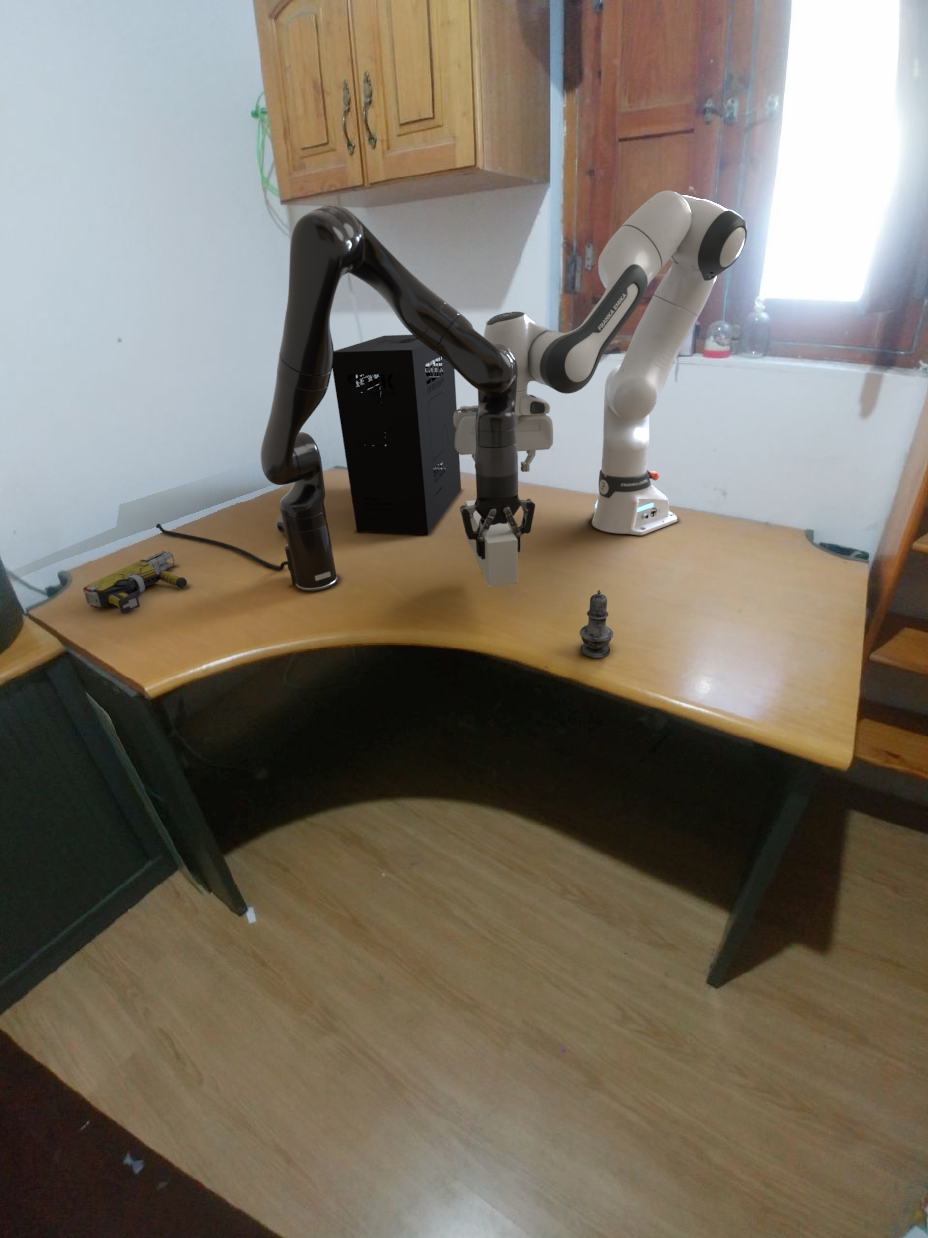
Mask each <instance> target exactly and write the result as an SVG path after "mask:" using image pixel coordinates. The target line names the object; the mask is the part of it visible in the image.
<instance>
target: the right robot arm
mask: <svg viewBox="0 0 928 1238" xmlns="http://www.w3.org/2000/svg"><path fill="white" fill-rule="evenodd" d="M747 236H748V228H747V221H746V220H745V218H743V216H741V214H738V213H737V212H736V211H734V210H732V209H727V208H725V207H723V206H721V205H720V204H717V203H715V202H713V201H710V200H707V199H705V198H703V199H701V198H697V197H694V196H689V195H684V194H683V195H682V193H680V192H676V191H674V190H662V191H659V192H657V193H656V194H654V195H652V196H651V197H650V198H649V199H648V200H647V201H645V202H644V203H643V204H642V205H640V207H638V208H637V209H636V210H635V211H634V212H633V213H632V214H631V215H630V216H629V217H628V218H627V219H626V220H625V221H624V223H622V224H621V226H620V227H619V228H618V229H617V231H616V232H615V233H613V235H612V236H611V237H610V239H609V240H608V241H607V242H606V244H605V246H604V248H603V249H602V251H601V252H600V255H599V257H598V262H597V270H598V271H597V272H598V277H599V279H600V281H601V284H602V285H603V287H604V288H605V290H604V293H603V295H602V296H601V298H600V299H599V301H598V302H597V303H596V304H595V306H594V307H593V308H592V310H591V311H590V312H589V314H588V315H587V317H586V318H585V319H584V320H583V322H582V323H581V324H580V325H579V326H578V327H577V328H575V329H573V330H571V331H567V332H560V331H557V330H556V331H555V330H551V329H549V328H547V327H544V326H542V325H540V324H539V323H536V322H535V321H533V320H532V319H531V318H529V317H528V315H527V314H526V312H522V311H511V312H510V311H509V312H503V313H498V314H496V315H494V316H492V317H491V318H489V320H487V322H486V323H485V324H486V325H485V328H484V332H483V337H484V338H485V339H487V340H488V341H489V342H490V343H492V344H501V345H504V346H506V347H508V348H509V349H510V350H511V351H512V352H513V353H514V355H515V357H516V360H517V369H518V374H517V393H516V405H515V414H516V444H517V452H526V454H527V456H526V458H525V459H524V461H520V471H521V473H527V472H528V473H529V472H530V467H531V466H530V465H531V463H533V460H534V459H535V457H536V453H537V452H536V451H545V450H550V449H551V447H552V446H553V445H554V424H553V420H552V417H551V416H550V414H549V413H550V411H551V404H550V403H549V402H548V401H547V400H545V399H544V398H541V397H539V396H535V395H533V394H528V385H529V383H531V382H536V383H538V384H541V385H544V386H546V387H549V388H551V389H553V390H555V391H556V392H558V393H561V394H565V395H566V394H567V395H568V394H574V393H576V392H578V391H581V390H582V389H583V388H584V387H586V386H587V385H588V384H589V383H590V381H591V380H592V379H593V376H594V375H595V372H596V370H597V368H598V366H599V363H600V362H601V358H602V357H603V355H604V353H605V352H606V350H607V349H608V347H609V346H610V344H611V343H612V342H613V341H614V340H615V338H616V337H617V335H618V334H619V333H620V331H621V330H622V328H623V327H624V326H625V324H626V323H627V321H628V320H629V319H630V318H631V316H632V315H633V313H634V312H635V311H636V309H637V308H638V306H639V305H640V303H641V302H642V300H643V298H644V297H645V295H646V292H647V289H648V287H649V285H650V284H651V282H652V281H653V280H654V278H655V277H656V276H657V275H658V274H659V273H660V271H661V270H662V269H663V268H664V267H665V266H666V265H667V263H668V262H669V261H672V264H671V266H669V269H668V270H667V271H666V272H665V274H664V276H663V277H662V279H661V281H660V282H659V284H658V286H657V288H656V289H655V292H654V294H653V295H652V297H651V299H650V301H649V302H648V305H647V306H646V308H645V310H644V313H643V315H642V316H641V318H640V320H639V322H638V324H637V326H636V328H635V330H634V332H633V335H632V338H631V341H630V343H629V345H628V348H627V350H626V352H625V355H624V357H623V359H622V361H621V363H620V364H618V365H617V366H615V367H614V368H613V369H611V371H610V372H609V374H608V376H606V379H605V383H604V397H603V427H602V429H603V431H602V432H603V435H602V436H603V437H602V453H601V468H600V470H599V474H598V492H599V493H598V498H597V500H596V503H595V505H594V509H595V511H594V514H593V517H592V520H591V525H592V526H593V527H594V528H595V529H597V530H599V531H601V532H605V533H611V534H623V535H625V534H626V535H632V536H633V535H634V536H645V535H646V534H650V533H652V532H654V531H657V530H660V529H662V528H665V527H668V526H670V525H672V524H675V523H677V522H678V516H677V515H676V514H675V513H674V512H672V511H670V503H669V502H670V501H669V498H668V497H667V496H666V495H665V494H664V493H663V492H661V491H660V490H659V489H658V488H656V487H655V486H654V485H652V483H651V480H653V481H658V479H659V478H660V473H659V472H657V471H654V470H651V471H649V470H648V469H647V466H648V458H649V457H648V455H649V446H650V414H651V413H652V411H654V409H655V407H656V404H657V401H658V399H659V397H660V395H661V393H662V392H663V389H664V387H665V385H666V383H667V381H668V378H669V376H670V374H671V371H672V369H673V367H674V364H675V361H676V359H677V357H678V356H679V354H680V351H681V349H682V347H683V346H684V344H685V342H686V340H687V338H688V336H689V335H690V333H691V331H692V329H693V327H694V326H695V325H696V322H697V321H698V319H699V317H700V315H701V314H702V311H703V309H704V308H705V306H706V304H707V301H708V300H709V297H710V294H711V293H712V291H713V288H714V285H715V282H716V280H717V277H718V276H719V275H721V274H723V273H724V272H726V271H727V270H728V269H729V268H730V267H732V266H733V265H734V263H735V262H737V260H738V259H739V258H740V255H741V253H742V252H743V249H744V247H745V245H746V241H747ZM477 410H478V404H477V405H469V406H468V405H462V406H460V408H457V410H456V411H455V413H454V415H453V424H454V427H455V428H456V431H455V449H456V451H457V452H458V453H459V456H465V455H466V456H467V455H471V458H472V460H473V462H475V453H476V428H475V422H476V414H477Z"/></svg>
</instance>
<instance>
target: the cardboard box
mask: <svg viewBox="0 0 928 1238" xmlns="http://www.w3.org/2000/svg"><path fill="white" fill-rule="evenodd" d="M433 361H434V363H433ZM332 375H333V381H334V382H333V383H334V388H335V396H336V401H337V408H338V415H339V422H340V426H341V427H340V429H341V436H342V441H343V449H344V456H345V461H346V468H347V475H348V481H349V482H348V483H349V488H350V495H351V496H350V497H351V501H352V508H353V515H354V522H355V528H356V532H358V533H379V534H402V535H406V534H407V535H425V536H426V535H427V536H428V535H430V534H431V532H432V530H433V529H434V527H435V526H436V525H437V523H438V522H439V521H440V519H441V518H442V516H443V515H444V514H445V513H446V511H447V509H448V508H449V507H450V506H451V504H452V503H453V501H454V500H455V499H456V498H457V496H458V495H459V493H460V492H461V491H462V481H461V461H460V454H459V453H458V452H457V451H456V449H455V431H456V428H455V427H454V424H453V415H454V413H455V411H456V410H458V408H457V391H456V390H457V389H456V388H457V387H456V370H455V369H454V368H453V366H452V365H451V364H450V363H449V362H448V361H447V360H446V359H444V358H443V357H441V356H440V355H438V354H437V353H436V352H434V351H433V350H432V349H430V348H429V347H428V346H426V345H425V344H424V343H423V342H421V341H420V340H419V339H417V338H416V337H415V336H414V335H413V334H391V335H388V334H387V335H382V336H381V335H380V336H378V337H375V338H372V339H368V340H365V341H361V342H359V343H356V344H353V345H349V346H345V347H343V348H342V347H341V348H339V349H336V350H334V361H333V367H332Z"/></svg>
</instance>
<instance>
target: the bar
mask: <svg viewBox="0 0 928 1238" xmlns="http://www.w3.org/2000/svg"><path fill="white" fill-rule="evenodd" d="M475 502H476V499H475V500H474V499H473V500H465V501H464V506H466V507H468V506H471V505H474V504H475ZM480 518H481V516H480V515H479V513H478V512H477V511H475V512H474V514H473V518H471V519H470V520H471V524H472V528H473V531H477V528H478V525H479V521H480ZM466 540H467V542H468V545H469V547H470V549H471V551H472V553H473V555H474V558H475V560H476V562H477V564H478V567H479V568H480V570H481V573H482V575H483V577H484V579H485V581H486V584H487V586H488V587H497V586H505V585H506V586H507V585H513V584H518V583H519V572H518V571H519V569H518V568H519V567H518V565H519V562H518V560H519V559H518V558H519V555H518V554H519V552H518V540H517V538H516V537H515V535H514V534H513V532H512V530H511V528H510V526H509V524H508V523H507V524H501V523H499V524H496V525H491V526H490V528H489V530H488V532H487V533H486V535H485V538H484V541H485V559H481V557H479V556H478V554H477V552H476V540H474V539H472V540H470V539H468V537H467V536H466Z"/></svg>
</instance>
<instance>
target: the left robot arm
mask: <svg viewBox="0 0 928 1238" xmlns="http://www.w3.org/2000/svg"><path fill="white" fill-rule="evenodd" d="M346 274H350V275H352V276H354V277H355V278H357V279H359V280H360V281H362V282H364V283H365V284H367V285H368V286H369V287H371V288H372V289H373V290H375V291H376V293H378V295H379V296H380V297H381V298H382V299H383V300H384V301H385V302H386V303H387V305H388V306H389V307H390V308H391V309H390V310H392V311H393V313H394V315H395V316H396V317H397V319H398V320H399V321H400V322H401V324H402V325H403V327H404V328H406V329H407V331H409V332H410V334H411V335H414V336H415V337H416V338H417V339H419V340H420V341H421V342H423V343H424V344H425V345H426V346H428V347H429V348H430V349H432V350H433V351H434V352H436V353H437V354H438V355H440V356H441V358H442V357H443V358H444V359H446V360H447V361H448V362H449V363H450V364H451V365H452V366H453V368H454V369H455V372H457V373H458V374H459V375H460V376H461V377H462V378H463V379H464V380H465V381H466V382H468V383H469V384H470V385H471V386H472V387H474V389H476V390H477V405H478V410H477V414H476V422H475V428H476V453H475V461H474V468H475V485H476V487H475V489H476V498H475V500H476V502H475V504H474V505H471V506H468V507H466V506H465V504H464V505H463V504H462V505H461V506H460V507H459V511H460V515H461V517H462V518H461V519H462V523H463V528H464V531H465V532H464V533H465V534H466V538H467V537H468V539H470V540H472V539H474V540H476V552H477V554H478V556H479V557H481V559H485V541H484V538H485V535H486V533H487V532H488V530H489V528H490V526H491V525H496V524H499V523H501V524H507V525H508V526H509V528H510V529H511V531H512V532H513V534H514V535H515V537H516V538H517V540H518V553H520V552H521V538H522V536H523V535H525V534H527V535H528V534H530V533H531V531H532V526H533V520H534V514H535V509H536V503H535V502H534V501H533V499H531V498H527V499H520V497H519V453H518V452H519V451H517V444H516V414H515V405H516V393H517V374H518V369H517V360H516V357H515V355H514V353H513V352H512V351H511V350H510V349H509V348H508V347H506V346H504V345H501V344H492V343H490V342H489V341H488V340H487V339H485V338H484V335H482V334H481V333H479V332H478V330H477V331H476V329H475V328H474V326H473V324H472V323H471V321H470V320H468V319H467V318H466V317H465V315H463V314H462V313H460V312H459V311H458V310H457V309H456V308H454V307H453V306H452V305H451V304H449V303H448V302H447V301H445V300H444V299H443V298H441V297H440V296H439V295H438V294H437V293H436V292H434V291H433V290H431V289H430V288H429V287H427V286H426V285H425V284H424V283H423V282H422V281H421V280H419V279H418V278H417V277H416V276H415V275H414V274H413V273H412V272H411V271H410V270H409V269H407V267H406V266H404V264H403V263H401V262H400V261H399V259H397V258H396V257H395V255H394V254H392V253H391V251H389V250H388V248H387V247H386V246H385V245H384V244H383V243H382V242H381V241H380V240H379V238H377V237H376V236H375V235H374V234H373V232H371V230H370V229H369V228H368V227H367V226H366V225H365V224H364V222H362V220H360V218H358V217H357V216H356V215H355V214H354V212H352V211H351V210H350V209H348V208H346V207H344V206H343V205H339V204H326V205H323V206H321V207H318V208H315V209H313V210H311V211H309V212H307V213H304V215H303V214H302V216H301V217H299V219H298V220H297V221H296V222H295V224H294V226H293V229H292V232H291V236H290V245H289V265H288V293H287V303H286V310H285V315H284V321H283V329H282V336H281V341H280V347H279V352H278V359H277V365H276V366H277V367H276V377H275V383H274V384H275V386H274V392H273V397H272V402H271V408H270V414H269V417H268V421H267V424H266V427H265V431H264V434H263V438H262V442H261V445H260V446H261V447H260V464H261V465H260V466H261V469H262V472H263V475H264V476H265V478H266V479H267V481H269V482H270V483H271V484H274V485H277V486H286V485H289V484H293V485H292V486H291V488H290V489H289V491H288V492H287V493H286V494H285V495H284V496H283V497H281V499H280V501H279V511H280V514H281V515H282V520H283V525H284V529H285V534H284V535H285V539H286V543H287V545H285V547H284V552H285V556H286V560H285V561H282V562H281V563H280V565H275V564H273V563H270V562H268V561H266V560H263V559H262V558H259V557H257V556H256V555H254V554H252V553H251V552H249V551H246V550H243V549H241V548H239V547H238V546H237V547H236V546H235V545H231V544H229V543H226V542H222V541H218V540H214V539H211V538H210V539H209V538H205V537H201V536H195V535H190V534H187V533H180V532H175V531H170V530H167V529H164V527H162V524H160V523H157V524H156V528H155V529H159V531H161V532H162V533H164V534H167V535H171V536H176V537H180V538H186V539H191V540H196V541H200V542H203V543H204V542H205V543H209V544H213V545H217V546H222V547H225V548H227V549H230V550H233V551H236V552H238V553H240V554H243V555H245V556H247V557H249V558H251V559H252V560H254V561H256V562H258V563H260V564H262V565H264V566H266V567H268V568H270V569H273V570H278V571H282V570H283V569H284V568H285V566H287V569H288V571H289V574H290V578H291V583H292V586H294V587H296V589H298V590H300V591H303V592H311V593H312V592H319V591H323V590H324V591H325V590H327V589H330V588H332V587H334V585H336V584H337V583H338V581H339V580H338V575H337V569H336V564H335V558H334V553H333V547H332V541H331V535H330V530H329V524H328V519H327V513H326V512H327V511H326V507H325V499H326V489H325V487H326V486H325V479H324V471H323V464H322V463H323V461H322V458H321V453H320V450H319V447H318V445H317V443H316V441H315V439H314V438H313V437H312V435H310V434H309V433H307V432H305V431H301V430H302V428H303V427H304V425H305V424H306V423H307V421H308V420H309V419H310V417H311V416H312V415H313V413H314V412H315V411H316V410H317V408H318V407H319V405H320V404H321V402H322V401H323V399H324V398H325V396H326V393H327V391H328V388H329V384H330V380H331V376H332V373H333V369H332V367H333V361H334V351H335V350H334V342H333V337H332V333H331V323H330V322H331V312H332V307H333V305H334V304H333V303H334V299H335V295H336V292H337V289H338V286H339V283H340V280H341V279H342V277H343V276H345V275H346ZM520 507H521V511H523V513H522V519H521V525H518V523H517V521H516V519H515V517H514V516H515V515H516V513H517V512H518V510H519V509H520ZM475 511H477V512H478V513H479V515H480V516H481V518H480V521H479V525H478V528H477V531H473V528H472V524H471V520H470V519H471V518H473V514H474V512H475Z"/></svg>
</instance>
